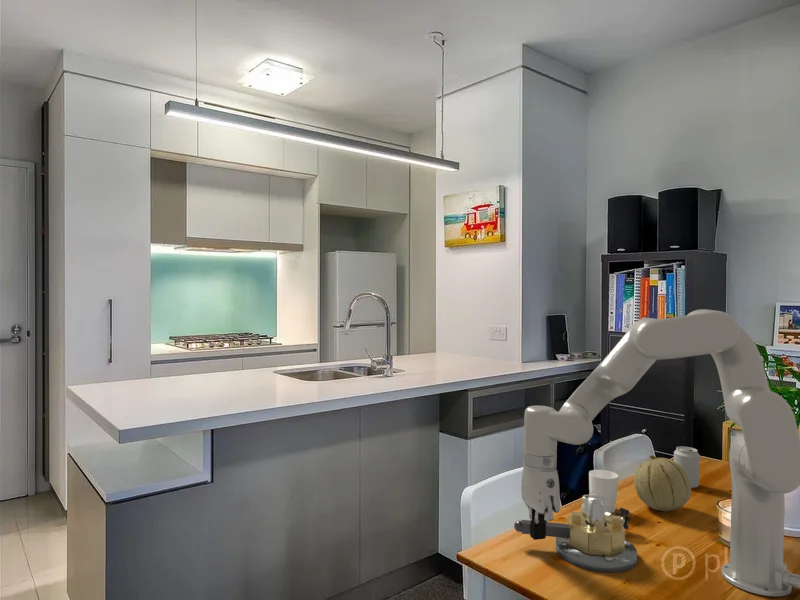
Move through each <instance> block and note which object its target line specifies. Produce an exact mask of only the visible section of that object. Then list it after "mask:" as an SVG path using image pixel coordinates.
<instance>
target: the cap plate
mask: <svg viewBox="0 0 800 600" xmlns="http://www.w3.org/2000/svg"><path fill="white" fill-rule="evenodd" d="M589 495H590V494H589ZM594 521H598V522H603V523H604V525H605V498H603V497H601V496H597V495H590V496H588V518H587V525H590V526H592V527H594ZM555 551H556V553H557V554H558V556H560V558H561V559H563V560H564V561H566V562H568V563H569V564H571V565H573V566H576V567H579V568H581V569H584V570H588V571H593V572H600V573H608V574H609V573H611V574H614V573H623V572H626V571H630V570H632V569H634V568H635V567H636V565H637V563H638V551H637V548H636V546H635V545H634V544H633V543H631V542H630V541H629V540H627V539H626V538H625V551H624V552H621V553H619V554H616V555H614V556H602V555H592V554H587V553H585V552H583V551H581V550H578V549H576V548H574V547H572V546H570V543H569V539H568V538H560V537H555Z"/></svg>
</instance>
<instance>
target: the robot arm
mask: <svg viewBox="0 0 800 600" xmlns="http://www.w3.org/2000/svg"><path fill="white" fill-rule="evenodd" d="M704 355H711V357H712V358H713V361H714V363H715V365H716V368H717V373H718V376H719V381H720V386H721V392H722V396H723V402H724V409H725V412H726V415H727V417H728V418H729V419H730V420H731V422H733V423H734V424H735V425H737V426H738V427H739V428H741V431H742V433H741V434H739V435H738V436H736V438H735V439H734V440H733V441H732V443H731V445H730V448H729V452H728V454H729V455H728V457H729V458H728V459H729V468H730V477H731V478H730V479H731V503H730V507H731V508H730V538H729V539H730V540H729V541H730V545H729V547H730V548H729V562H727V563H724V564H723V565H722V566H721V576H722V577H723V578H724V579H725V580H726V581H727V582H728V583H729V584H731V585H733V586H734V587H737V588H739V589H741V590H743V591H746V592H749V593H752V594H754V595H755V594H756V595H759V596H765V597H766V596H767V597H774V598H775V597H785V596H788V595H789V594H791V593H792V588H793V587H794V588H796V589H798V590H800V574H796V573H792V572H790V570H788V569H787V567H788V564H787V563H785V562H784V541H785V539H784V538H785V537H784V536H785V530H784V529H785V511H786V506H785V505H786V502H785V494H789V493H792V492H793V491H796V490H797V489H798V488H799V487H800V435H799V434H800V433H799V430H798V425H797V421H796V416H795V414H794V412H793V410H792V408H791V406H790V405H789V403H788V402H787V401H786V399H784V397H782V396H781V395H780V394H779V393H776V392H774V391H772V390H771V388H770V386H769V382H768V379H767V375H766V371H765V367H764V364H763V360H762V357H761V356H762V355H761V353H760V351H759V348H758V347H757V344H756V343H755V341H754V340H753V338H752V337H751V335H750V334H749V333H748V332H747V331H746V330H745V329H744V328H743V327H742V326H740V325H739V324H738V322H737V320H736V319H735V318H734V317H733V316H732V315H730V314H728V313H727V312H725V311H721V310H716V309H715V310H713V309H707V308H706V309H704V308H703V309H696V310H693V311H691V312H689V313H688V314H686V315H683V316H675V317H668V318H667V317H666V318H665V317H664V318H654V317H653V318H652V317H644V318H641V319H639V320H638V321H635V323H633V325H631V326H630V328H629V329H628V330H627V331H626V333H625V334H624V335H623V336H622V337H621V338H620V340H619V341H618V342H617V343H616V344H615V345H614V347H613V348H612V349H611V351H609V353H608V354H607V355H606V356H605V358H604V359H603V360H602V361H601V362H600V363H599V364H598V366H597V367H596V368H594V369H593V371H592V372H591V373H590V375H588V376H587V378H586V379H584V381H582V383H581V384H580V385H578V387H577V388H576V389H575V390H574V391H573V392H572V394H571V395H570V397H568V399H566V401H565V402H564V404H563V405H562V406H561V408H560V409H559V411H557V410H556V409H555V408H554V407H551V406H547V405H530V406H527V407H526V408H525V410H524V417H523V419H524V420H523V423H524V424H523V457H522V458H523V461H522V463H523V464H522V465H523V468H522V474H521V475H522V476H521V487H520V489H521V490H520V491H521V499H522V500H523V501H522V502H524V504H525V506H526V507H527V508H528V515H529V520H530V534H529V536H530V538H532V539H533V540H534V541H536V540H537V541H538V540H544V539H546V538H547V536H546V523H547V522H550V521H551V522H553V521H554V513H556V514H557V513H559V512H560V509H561V507H560V503H561V499H560V479H559V474H558V469H557V457H558V456H557V455H558V454H557V453H558V450H557V449H558V448H557V447H558V442H561V443H566V444H571V445H584V444H586V443H587V442H588V441H590V440H591V438H592V437H593V434H594V424H593V422H592V421H594V419H595V418H596V417H597V416H598V414H599V413H600V412H601V411H602V410H603V408H605V407H606V406H607V405H608V404H609V403H610V402H611V401H613V400H614V399H615V398H619V397H620V396H623V395H625V394H627V393H628V392H630V391H631V390H633V388H634V387H635V386H636V385H637V383H638V382H639V381H640V380H641V378H642V377H643V376H644V375H645V374H646V373H647V371H648V370H649V369H650V368H651V367H652V365H654V364H655V362H656V361H657V360H671V359H681V358H682V359H683V358H688V357H696V356H704ZM553 512H554V513H553Z"/></svg>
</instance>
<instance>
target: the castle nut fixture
mask: <svg viewBox="0 0 800 600" xmlns="http://www.w3.org/2000/svg"><path fill="white" fill-rule="evenodd" d="M567 517H568V519H567V521H568V522H567V523H560V522H553V521H551V522H550V521H547V523H546V537H550V538H551V537H552V538H553V537H554V538H556V537H560V538H568V539H569V543H570V546H572V547H574V548H576V549H578V550H581V551H583V552H585V553H587V554H592V555H602V556H614V555H616V554H619V553H621V552H624V551H625V539H626V529H624V527H623V525H622V519H621V517H620V516H614V515H613V514H612V515H611V517H608V516H606V515H605V525H604V523H603V522H598V521H594V527H592V526H590V525H587V518H588V513H583V512H582V511H580V512H577V511H571V513H570V515H569V516H567ZM530 520H531V519H529V520H528V519H521V520H517V521H515V522H514V524H513V528H514V530H515V531H516V532H517V533H521V534H523V535H530Z"/></svg>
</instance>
